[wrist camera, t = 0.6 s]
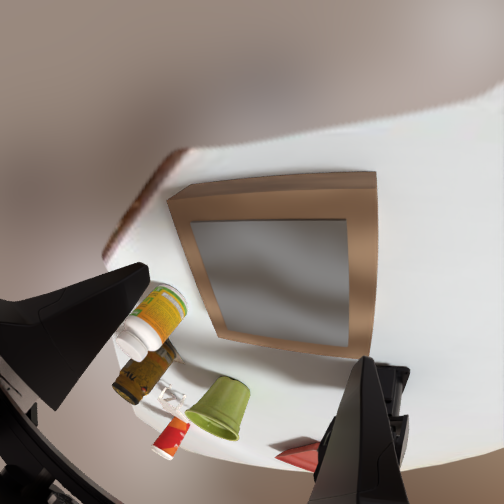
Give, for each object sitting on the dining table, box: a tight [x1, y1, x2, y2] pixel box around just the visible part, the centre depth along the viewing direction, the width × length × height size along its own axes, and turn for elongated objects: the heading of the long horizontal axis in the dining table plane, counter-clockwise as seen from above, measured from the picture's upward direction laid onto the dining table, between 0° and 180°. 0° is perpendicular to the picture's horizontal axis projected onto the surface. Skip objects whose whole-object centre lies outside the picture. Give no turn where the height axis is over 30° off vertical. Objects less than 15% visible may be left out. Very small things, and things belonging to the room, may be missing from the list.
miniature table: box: [158, 384, 192, 424], centre depth 57 cm, size 12×8×5 cm
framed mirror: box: [166, 172, 378, 359], centre depth 24 cm, size 16×16×4 cm
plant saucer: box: [275, 442, 320, 472], centre depth 49 cm, size 18×18×3 cm
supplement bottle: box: [116, 284, 188, 362], centre depth 33 cm, size 5×5×10 cm
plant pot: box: [185, 377, 250, 441], centre depth 40 cm, size 9×9×9 cm
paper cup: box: [151, 416, 190, 460], centre depth 69 cm, size 8×8×14 cm
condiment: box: [112, 338, 185, 405], centre depth 42 cm, size 7×8×12 cm
